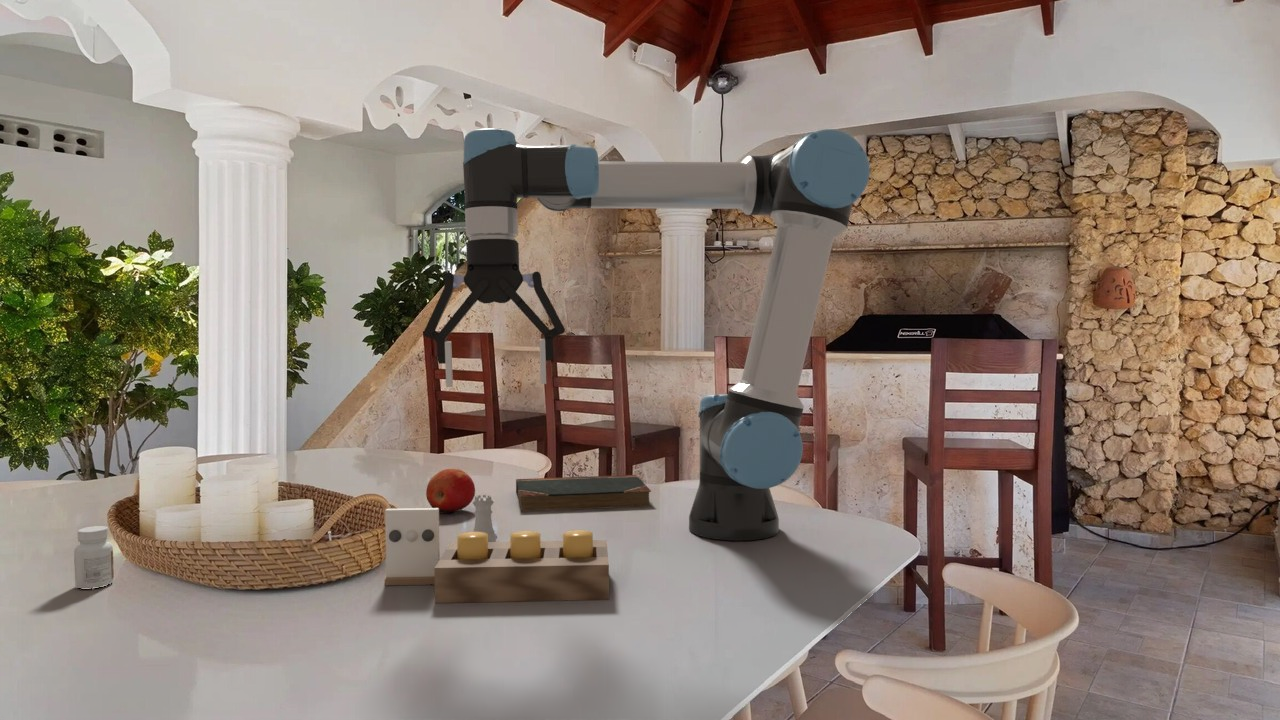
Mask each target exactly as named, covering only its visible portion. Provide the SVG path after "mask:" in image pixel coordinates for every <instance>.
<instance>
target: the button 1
mask: <svg viewBox="0 0 1280 720" xmlns="http://www.w3.org/2000/svg"><path fill="white" fill-rule="evenodd" d="M456 537H457V538H456V539H457V540H456V542H457V556H458V560H467V559H488V534H487V533H484V532H473V531H468V532H461V533H459V534H457V536H456Z"/></svg>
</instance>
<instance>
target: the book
mask: <svg viewBox="0 0 1280 720" xmlns="http://www.w3.org/2000/svg"><path fill="white" fill-rule="evenodd" d="M515 487H516V488H515V489H516V490H515V493H516V494H517V497H518V500H519V505H520V510H521V512H527V511H528V512H533V511H553V510H555V511H556V510H557V511H558V510H578V509H579V510H580V509H581V510H582V509H583V510H584V509H600V508H601V509H603V508H604V509H605V508H606V509H607V508H608V509H609V508H631V507H650V493H651V492H652V490H651V489H650V488H649V487H648V486H647V484H645V483H644V481H643V480H642V479H640V477H639V476H638V475H637V474H626V475H625V474H624V475H623V474H621V475H619V474H618V475H598V476H597V475H596V476H595V475H593V476H591V475H590V476H571V477H570V476H568V477H564V476H563V477H540V478H539V477H537V478H515Z"/></svg>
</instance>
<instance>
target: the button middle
mask: <svg viewBox="0 0 1280 720" xmlns="http://www.w3.org/2000/svg"><path fill="white" fill-rule="evenodd" d="M509 537H510V538H509V539H510V541H509V542H510V558H511V559H524V558H541V546H540V541H541V533H540V532H538V531H535V530H534V531H532V530H522V531H521V530H520V531H515V532H513V533H511V534H510V536H509Z"/></svg>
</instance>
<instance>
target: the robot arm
mask: <svg viewBox="0 0 1280 720" xmlns="http://www.w3.org/2000/svg"><path fill="white" fill-rule="evenodd" d="M598 155H599V154H598V151H597V149H596V148H595V147H593V146H590V145H589V146H588V145H577V144H571V145H522V144H517V140H516V135H515V134H514V132H511V131H510V130H507V129H498V128H497V129H496V128H480V129H479V128H477V129H474V130H471V131H469V132H468V133H467V134H466V135H465V137H464V139H463V161H462V167H463V168H462V169H463V187H464V188H463V189H464V203H465V204H464V205H465V206H464V218H465V219H464V220H465V222H464V223H465V236H466V237H468V238H469V240H468V241H467V243H465V244H466V247H465V248H466V251H465V252H466V272H465V274H464V275H461V274H455V273H454V274H453V273H451V272H447V273H446V274H445V275H444V288H443V289H442V293H441V294H440V296H439V299H438V301H437V303H436V304H435V307H434V308H433V311H432V313H431V316H430V317H429V320H428V321H427V324H426V326H425V328H424V330H423V336H424V337H425V338H428V339H432V340H434V341H435V342H436V351H437V352H436V357H437V362H438V364H439V365H441V364H445V387H446V388H452V387H453V385H454V381H453V377H454V376H453V374H454V373H453V351H452V350H453V349H452V348H453V347H452V340H450V341H449V340H447V338H448V337H449V336H450V335H451V333H452V332H453V331H454V329H455V328H456V327H458V325H459V324H460V322H461V321H462V320H463V319H464V318H465V316H466V315H467V313H468V312H469V311H470V310H471V309H472V307H473V306H474V305H475V304H476V303H477V302H479V303H482V304H491V303H498V304H506V303H508V302H510V301H512V302H513V303H514V304H515V306H516V307H518V309H519V310H520V311H521V312H522V313H523V315H525V317H526V318H527V319H528V320H529V321H530V322H531V323H532V325H533V326H535V328H537V330H538V331H539V332H540V334H542V335H543V338H540V339H539V370H540V371H539V373H540V374H539V375H540V377H539V378H540V385H547V368H546V367H547V365H546V364H547V361H552V360H553V359H554V339H555V337H557V336H561V335H563V334H564V333H565V331H566V329H565V326H564V325H563V322H562V321H561V319H560V317H559V315H558V313H557V312H556V309H555V308H554V306H553V304H552V301H551V300H550V298H549V296H548V295H547V293H546V291H545V289H544V287H543V282H542V281H543V280H542V275H541V273H540V272H539V271H534V272H531V273H524V274H522V272H521V270H520V254H519V253H520V252H519V251H520V249H519V248H520V247H519V245H520V243H519V242H518V241H517V240H516V239H515V238H517V237H518V236H519V217H518V215H519V214H518V211H519V210H518V199H537V201H538V202H539V204H540V205H542V206H543V207H544V208H546V209H547V210H549V211H554V212H564V211H568V210H571V209H573V210H575V209H576V210H577V209H580V210H581V209H583V210H585V209H662V210H663V209H665V210H666V209H668V210H669V209H673V210H674V209H677V210H678V209H681V210H682V209H686V210H687V209H690V210H691V209H692V210H694V209H695V210H696V209H698V210H700V209H701V210H703V209H705V210H707V209H708V210H709V209H712V210H725V209H727V210H729V209H730V210H741V211H742V213H744V215H746V216H768V217H769V216H770V217H771V219H772V220H773V222H774V223H775V226H776V228H777V229H776V234H775V237H774V242H773V247H772V249H771V250H772V251H771V253H770V258H769V262H768V266H767V271H766V276H765V279H764V283H763V289H762V293H761V296H760V300H759V305H758V309H757V313H756V317H755V320H754V325H753V330H752V335H751V338H750V342H749V346H748V350H747V351H748V352H747V356H746V358H745V363H744V368H743V372H742V375H741V379H740V380H739V382H738V383H735V384H734V385H732V386H731V387H730V388H728V390H727V391H728V392H727V393H726V394H708V395H705V396H703V397H702V398H701V399H700V403H699V411H698V418H699V484H698V487H697V491H696V494H695V497H694V500H693V503H692V505H691V509H690V512H689V516H688V517H689V518H688V530H689V531H690V532H691V533H692V534H694V535H696V536H700V537H704V538H707V539H714V540H720V541H721V540H723V541H739V542H740V541H756V540H762V539H767V538H770V537H774V536H775V535H777V534H778V533H779V531H780V529H779V528H780V526H779V525H780V519H779V513H778V512H777V511H778V510H777V508H776V506H775V502H774V499H773V495H772V492H771V489H772V488H775V487H778V486H779V485H782V483H785V482H786V481H787V480H789V479H791V477H792V476H793V475H794V473H795V472H796V471H797V470H798V468H799V466H800V464H801V461H802V457H803V451H804V448H803V440H802V439H803V438H802V436H801V433H800V430H799V429H800V425H801V421H802V416H803V414H804V413H803V412H804V409H805V406H804V404H803V403H802V401H801V399H800V397H799V396H798V390H799V385H800V382H801V381H800V380H801V376H802V372H803V368H804V365H805V360H806V356H807V352H808V348H809V344H810V340H811V335H812V331H813V328H814V327H813V326H814V323H815V319H816V316H817V315H816V314H817V310H818V306H819V301H820V297H821V294H822V290H823V285H824V281H825V277H826V273H827V268H828V264H829V260H830V256H831V252H832V248H833V244H834V240H835V239H836V238H838V237H839V236H841V235H842V234H843V233H845V232H846V231H847V230H848V225H849V220H850V216H851V213H852V208H853V204H854V203H855V202H856V201H858V199H860V197H861V196H862V194H863V192H864V191H865V190H866V188H867V186H868V184H869V183H868V182H869V180H870V169H871V167H870V161H869V158H868V155H867V153H866V151H865V150H864V148H863V146H862V145H861V144H860V143H859V141H858V140H857V139H855V137H853V136H852V135H850V134H849V133H846V132H844V131H842V130H838V129H833V128H831V129H830V128H826V129H820V130H819V129H818V130H817V131H812V132H808V133H807V134H805V135H803V136H802V137H800V138H799V139H798V140H797V141H796V142H795V143H794V144H792V145H791V146H789V147H788V148H786V149H784V150H781V151H779V152H776V153H771V154H767V155H748V156H746V157H745V158H744V159H742V161H740V162H739V161H736V162H735V161H734V162H733V161H624V160H623V161H618V160H617V161H616V160H614V161H611V160H610V161H608V160H605V161H599V156H598ZM523 282H525V283H526V284H527V286H528V287H529V288H533V289H534V291H535V292H534V293H535V295H536V296H537V298H538V300H539V303H540V304H541V305H542V307H543V309H544V312H545V313H546V314H547V316H548V319H549V321H550V322H551V324H552V326H553V327H552V328H549V327H548V325H546V323H544V322H543V320H542V319H541V318H540V317H539V316H538V315H537V314H536V313H535V312H534V310H532V308H531V307H530V306H529V305H528V304H527V302H525V300H524V299H523V298H522V297H521V296H520V295H519V294H518V292H517V291H518V290H519V288H520V287H521V285H522V284H523ZM462 283H464V285H465V286H466V287H467V288H468V290H470V294H469V295H468V296H467V298H466V299H465V300H464V302H463V303H462V304H461V305H460V306H459V307H458V309H457V310H456V311H455V313H454V314H453V315H452V316H451V317H450V319H448V321H447V322H446V323H445V325H444V326H443V327H442V328H441V330H440V331H437V330H436V329H437V328H438V325H439V323H440V321H441V319H442V317H443V314H444V313H445V311H446V308H447V306H448V305H449V302H450V299H451V297H452V295H453V293H454V290H457V289H459V287H460V286H461V284H462Z"/></svg>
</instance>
